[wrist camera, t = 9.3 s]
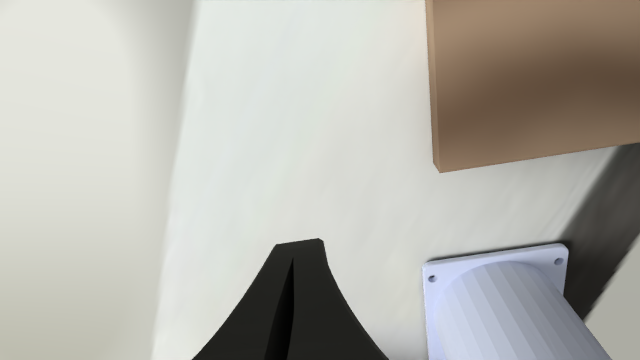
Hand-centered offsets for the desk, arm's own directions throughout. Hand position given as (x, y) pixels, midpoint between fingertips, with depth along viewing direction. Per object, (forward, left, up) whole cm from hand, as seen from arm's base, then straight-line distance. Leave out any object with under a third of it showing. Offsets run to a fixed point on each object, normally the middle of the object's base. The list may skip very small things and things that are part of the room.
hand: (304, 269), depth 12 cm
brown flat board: (+7, -13, -9) cm, 18 cm away
